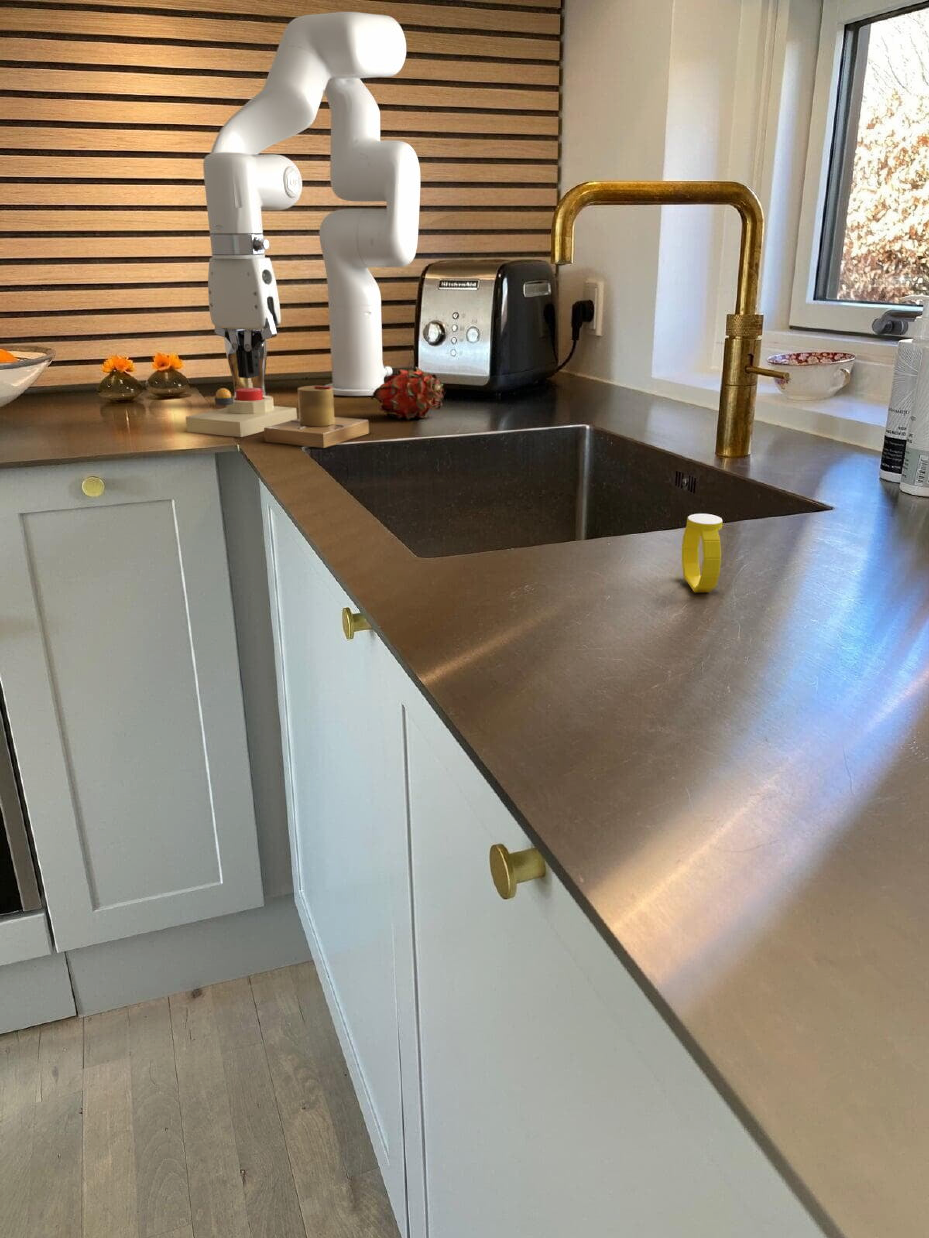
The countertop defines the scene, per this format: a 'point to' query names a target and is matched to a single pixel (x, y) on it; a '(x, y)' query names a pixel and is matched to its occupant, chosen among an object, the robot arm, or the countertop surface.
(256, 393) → the light button
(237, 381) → the beer glass
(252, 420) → the switch block
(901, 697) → the countertop surface
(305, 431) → the dimmer panel
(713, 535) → the watch
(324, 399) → the dimmer knob
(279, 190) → the robot arm
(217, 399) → the lamp
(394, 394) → the dragon fruit
